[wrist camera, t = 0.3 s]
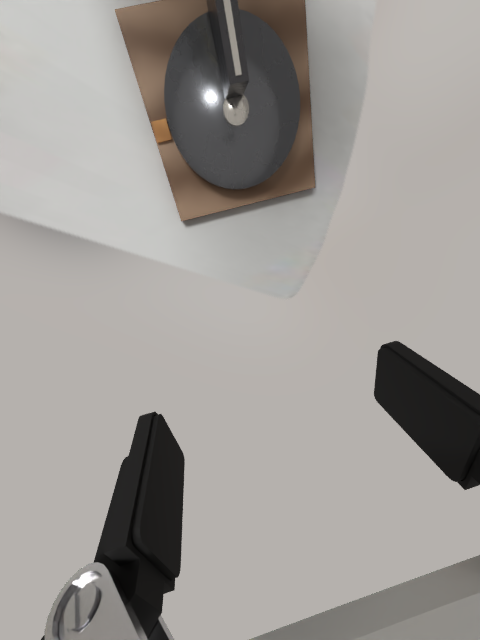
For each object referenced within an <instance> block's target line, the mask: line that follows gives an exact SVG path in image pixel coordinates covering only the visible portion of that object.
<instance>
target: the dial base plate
mask: <svg viewBox="0 0 480 640" xmlns="http://www.w3.org/2000/svg"><path fill="white" fill-rule="evenodd" d="M238 7H239V9H241V10H244V11H248V12H250V13H252V14H254V15H256V16H258V17H259V18H260V19H262V20H263V21H264V22H266V23H267V24H268V25H269V26H270V27H271V28H272V29H273V30H274V31H275V32H276V34H277V35H278V36H279V38H280V39H281V40H282V42H283V44H284V45H285V47H286V49H287V50H288V52H289V55H290V57H291V59H292V61H293V65H294V68H295V71H296V74H297V79H298V83H299V91H300V118H299V124H298V130H297V133H296V137H295V140H294V143H293V145H292V148H291V150H290V152H289V154H288V156H287V158H286V159H285V161H284V162H283V164H282V165H281V166H280V167H279V169H278V170H277V171H276V172H275V173H274V174H273V175H272V176H270V177H269V178H268V179H266V180H265V181H263V182H261V183H259V184H257V185H255V186H252V187H249V188H245V189H235V190H232V189H225V188H221V187H218V186H215V185H213V184H211V183H209V182H207V181H206V180H204V179H203V178H201V177H200V176H199V175H198V174H196V173H195V172H194V171H193V170H192V168H191V167H190V166H189V165H188V164H187V163H186V161H185V160H184V159H183V157H182V155H181V154H180V152H179V150H178V148H177V146H176V144H175V142H174V140H173V137H172V134H171V131H170V128H169V125H168V121H167V116H166V110H165V103H164V84H165V74H166V69H167V64H168V61H169V58H170V55H171V52H172V50H173V48H174V45H175V43H176V41H177V40H178V38H179V37H180V35H181V34H182V32H183V31H184V30H185V29H186V27H187V26H188V25H189V24H190V23H191V22H192V21H194V20H195V19H196V18H197V17H199V16H201V15H202V14H204V13H206V12H208V7H207V2H206V0H161V1H156V2H151V3H145V4H140V5H135V6H130V7H125V8H120V9H115V12H116V15H117V19H118V22H119V25H120V28H121V31H122V34H123V38H124V41H125V44H126V47H127V50H128V53H129V57H130V60H131V63H132V66H133V69H134V72H135V76H136V79H137V82H138V85H139V88H140V91H141V95H142V98H143V101H144V104H145V107H146V111H147V114H148V117H149V120H150V123H151V126H152V130H153V133H154V136H155V139H156V142H157V145H158V149H159V152H160V155H161V158H162V161H163V164H164V168H165V171H166V174H167V177H168V180H169V183H170V187H171V190H172V193H173V196H174V199H175V202H176V206H177V209H178V212H179V215H180V218H181V221H185V220H188V219H192V218H196V217H200V216H204V215H208V214H212V213H216V212H220V211H224V210H228V209H232V208H236V207H240V206H244V205H248V204H252V203H256V202H260V201H264V200H267V199H271V198H275V197H279V196H283V195H287V194H291V193H295V192H299V191H303V190H307V189H311V188H315V176H314V158H313V139H312V121H311V102H310V84H309V66H308V47H307V29H306V11H305V0H238Z"/></svg>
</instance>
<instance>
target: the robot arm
mask: <svg viewBox="0 0 480 640" xmlns="http://www.w3.org/2000/svg"><path fill="white" fill-rule="evenodd" d="M374 396H375V399H376V401H377V402H378V403H379V404H380V405H381V406H382V407H383V408H384V409H385V411H386V412H387V413H388V414H389V415H390V416H391V417H392V418H393V419H394V420H395V421H396V422H397V423H398V424H399V425H400V426H401V428H403V430H404V431H405V432H406V433H407V434H408V435H409V436H410V437H411V438H412V439H413V440H414V441H415V442H416V444H417V445H418V446H419V447H420V448H421V449H422V450H423V451H424V452H425V453H426V454H427V455H428V456H429V457H430V458H431V459H432V461H434V463H436V465H437V466H438V467H439V468H440V469H441V470H442V471H443V472H444V473H445V474H446V475H447V476H448V477H449V478H450V479H451V480H453V481H455V482H458V483H459V484H460V485H461V486H462V487H463V489H465V490H466V489H469V488H472V487H475V486H478V485H480V395H479V394H478V393H476V392H475V391H473V390H472V389H470V388H469V387H467V386H466V385H464V384H463V383H461V382H460V381H458V380H457V379H455V378H454V377H452V376H451V375H449V374H448V373H446V372H445V371H443V370H441V369H440V368H438V367H437V366H435V365H434V364H432V363H431V362H429V361H428V360H426V359H424V358H423V357H422V356H420V355H418V354H417V353H416V352H414V351H412V350H411V349H410V348H408V347H406V346H405V345H403V344H402V343H400V342H398V341H394V342H390V343H387V344H384V345H382V346H381V348H380V350H379V351H378V357H377V368H376V379H375V389H374ZM183 486H184V455H183V452H182V450H181V449H180V447H179V445H178V443H177V441H176V439H175V438H174V436H173V434H172V432H171V430H170V428H169V427H168V425H167V423H166V421H165V419H164V418H163V416H162V415H161V414H159V415H158V414H157V413H156V412H152V413H149V414H145V415H142V416H140V417H139V419H138V423H137V427H136V430H135V434H134V438H133V442H132V445H131V449H130V453H129V456H128V457H126V458H125V459H124V460H123V462H122V465H121V468H120V471H119V475H118V479H117V482H116V486H115V489H114V493H113V496H112V500H111V503H110V507H109V510H108V514H107V518H106V521H105V525H104V528H103V531H102V536H101V539H100V542H99V546H98V550H97V553H96V556H95V560H94V563H91V564H88V565H86V566H85V567H83V568H81V569H80V570H78V572H77V573H75V574H74V575H73V576H72V577H71V578H70V579H69V581H68V582H67V583H66V584H65V586H64V587H63V588H62V589H61V591H60V593H59V595H58V596H57V598H56V600H55V601H54V603H53V606H52V608H51V611H50V613H49V616H48V619H47V623H46V628H45V635H44V636H43V638H42V639H41V640H174V639H173V637H172V635H171V633H170V631H169V629H168V628H167V626H166V624H165V622H164V620H163V618H162V617H161V613H162V604H163V594H165V593H167V592H170V591H173V590H174V587H175V578H176V577H178V576H179V573H180V565H181V540H182V514H183V488H184V487H183ZM250 640H480V555H479V556H476V557H473V558H470V559H468V560H465V561H462V562H459V563H456V564H454V565H451V566H448V567H445V568H443V569H440V570H437V571H435V572H431V573H429V574H426V575H424V576H420V577H418V578H415V579H412V580H410V581H407V582H404V583H401V584H399V585H396V586H393V587H390V588H388V589H385V590H382V591H379V592H377V593H374V594H371V595H369V596H366V597H363V598H360V599H358V600H355V601H352V602H349V603H347V604H344V605H341V606H338V607H336V608H333V609H330V610H328V611H325V612H322V613H319V614H317V615H314V616H311V617H309V618H306V619H303V620H301V621H298V622H296V623H293V624H290V625H287V626H284V627H282V628H279V629H276V630H274V631H271V632H268V633H266V634H263V635H260V636H258V637H255V638H252V639H250Z"/></svg>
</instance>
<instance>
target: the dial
mask: <svg viewBox="0 0 480 640" xmlns="http://www.w3.org/2000/svg"><path fill="white" fill-rule="evenodd" d="M206 2H207V7H208V12H206V13H204V14H202V15H201V16H199V17H197V18H196V19H195V20H194V21H192V22H191V23H190V24H189V25H188V26H187V27H186V29H185V30H184V31H183V32H182V34H181V35H180V37H179V38H178V40H177V41H176V43H175V45H174V48H173V50H172V52H171V55H170V58H169V61H168V64H167V69H166V74H165V84H164V103H165V110H166V116H167V121H168V125H169V128H170V131H171V134H172V137H173V140H174V142H175V144H176V146H177V148H178V150H179V152H180V154H181V155H182V157H183V159H184V160H185V161H186V163H187V164H188V165H189V166H190V167H191V168H192V170H193V171H194V172H195V173H196V174H198V175H199V176H200V177H201V178H203V179H204V180H206V181H207V182H209V183H211V184H213V185H215V186H218V187H221V188H225V189H232V190H235V189H245V188H249V187H252V186H255V185H257V184H259V183H261V182H263V181H265V180H266V179H268V178H269V177H270V176H272V175H273V174H274V173H275V172H276V171H277V170H278V169H279V167H280V166H281V165H282V164H283V162H284V161H285V159H286V158H287V156H288V154H289V152H290V150H291V148H292V145H293V143H294V140H295V137H296V133H297V130H298V124H299V118H300V91H299V83H298V79H297V74H296V71H295V68H294V65H293V61H292V59H291V57H290V55H289V52H288V50H287V49H286V47H285V45H284V44H283V42H282V40H281V39H280V38H279V36H278V35H277V34H276V32H275V31H274V30H273V29H272V28H271V27H270V26H269V25H268V24H267V23H266V22H264V21H263V20H262V19H260V18H259V17H258V16H256V15H254V14H252V13H250V12H248V11H244V10H241V9H239V7H238V0H206Z"/></svg>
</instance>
